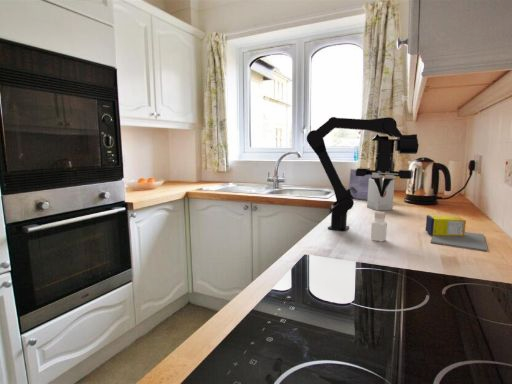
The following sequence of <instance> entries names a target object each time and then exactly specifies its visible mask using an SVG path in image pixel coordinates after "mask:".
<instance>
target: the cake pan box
mask: <svg viewBox="0 0 512 384" xmlns="http://www.w3.org/2000/svg"><path fill="white" fill-rule="evenodd" d="M356 169H357V168H350V171H349V172H350V173H349V182H348V187H349V188H350V192H351V194H352V195H353V196H354V199H353V200H355V199H356V200H365V201H367V199H368V185H369V179H371V178H372V175H365V176H355V174H356ZM378 172H380V171H378ZM381 177H383V178H384V176H383V175H381Z"/></svg>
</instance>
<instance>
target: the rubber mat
mask: <svg viewBox="0 0 512 384" xmlns="http://www.w3.org/2000/svg"><path fill="white" fill-rule="evenodd" d="M430 244H434V245H435V244H436V245H441V246H448V247H455V248H462V249H468V250H476V251H481V252H488V248H487V243H486V240H485V235H484V233H475V232H469V231H467V232H466V231H465V237H460V236H442V235H431V239H430Z"/></svg>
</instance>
